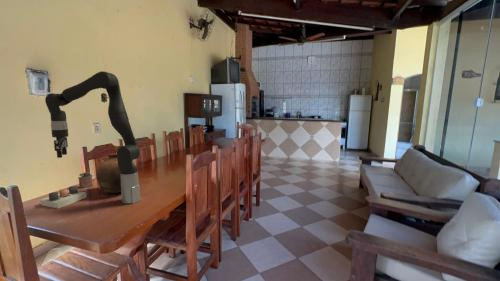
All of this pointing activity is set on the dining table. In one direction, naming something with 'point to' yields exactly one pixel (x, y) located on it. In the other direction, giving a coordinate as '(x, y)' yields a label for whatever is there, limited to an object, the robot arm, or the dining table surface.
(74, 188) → the black knob right
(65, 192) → the terracotta knob middle
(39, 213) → the dining table surface
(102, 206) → the dining table surface
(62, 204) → the control panel
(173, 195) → the dining table surface
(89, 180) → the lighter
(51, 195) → the black knob left
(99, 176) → the pottery
